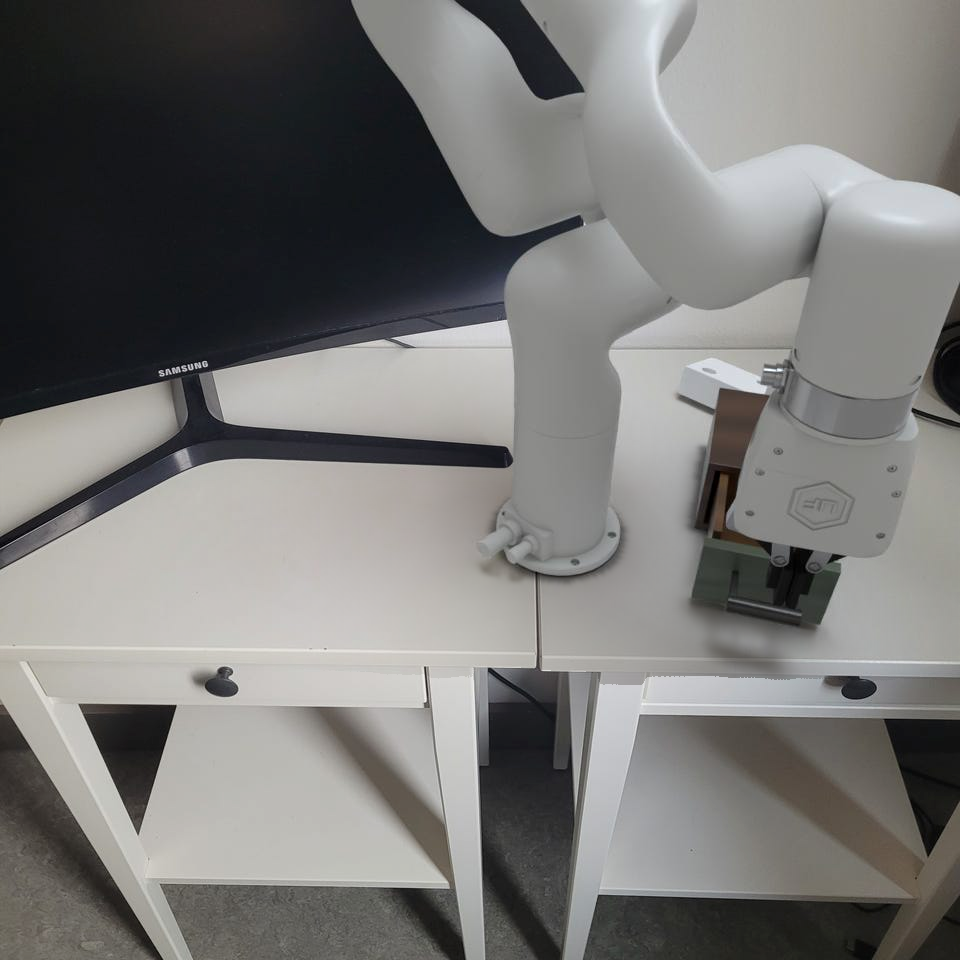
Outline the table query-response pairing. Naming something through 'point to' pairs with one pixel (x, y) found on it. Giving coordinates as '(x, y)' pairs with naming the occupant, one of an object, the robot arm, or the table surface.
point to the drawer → (750, 571)
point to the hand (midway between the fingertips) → (783, 594)
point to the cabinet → (727, 442)
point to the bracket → (717, 381)
